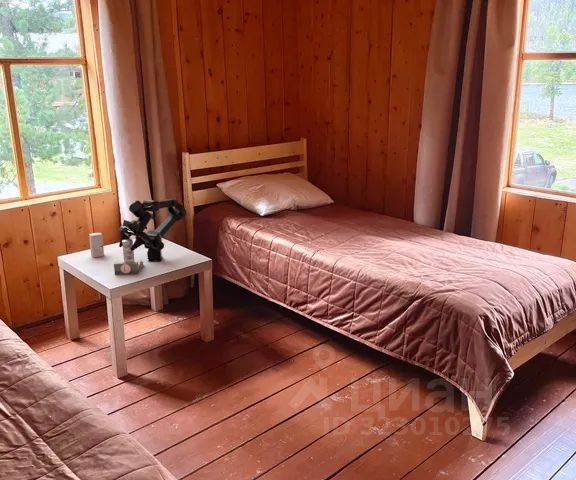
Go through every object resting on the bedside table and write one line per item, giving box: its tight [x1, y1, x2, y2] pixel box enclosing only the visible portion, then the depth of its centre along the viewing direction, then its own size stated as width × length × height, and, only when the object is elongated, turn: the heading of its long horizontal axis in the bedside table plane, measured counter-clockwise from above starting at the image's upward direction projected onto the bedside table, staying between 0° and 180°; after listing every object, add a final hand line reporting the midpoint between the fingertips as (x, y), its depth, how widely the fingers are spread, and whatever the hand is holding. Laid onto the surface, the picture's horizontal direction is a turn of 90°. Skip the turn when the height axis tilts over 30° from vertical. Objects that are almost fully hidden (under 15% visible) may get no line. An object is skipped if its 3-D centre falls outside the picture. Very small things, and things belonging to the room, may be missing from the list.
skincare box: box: [88, 232, 105, 258], centre depth 295 cm, size 6×4×12 cm
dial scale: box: [113, 259, 144, 276], centre depth 274 cm, size 11×14×6 cm
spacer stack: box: [122, 238, 135, 262], centre depth 274 cm, size 5×5×12 cm
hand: (125, 248), depth 272 cm, fingers open, 9 cm apart
